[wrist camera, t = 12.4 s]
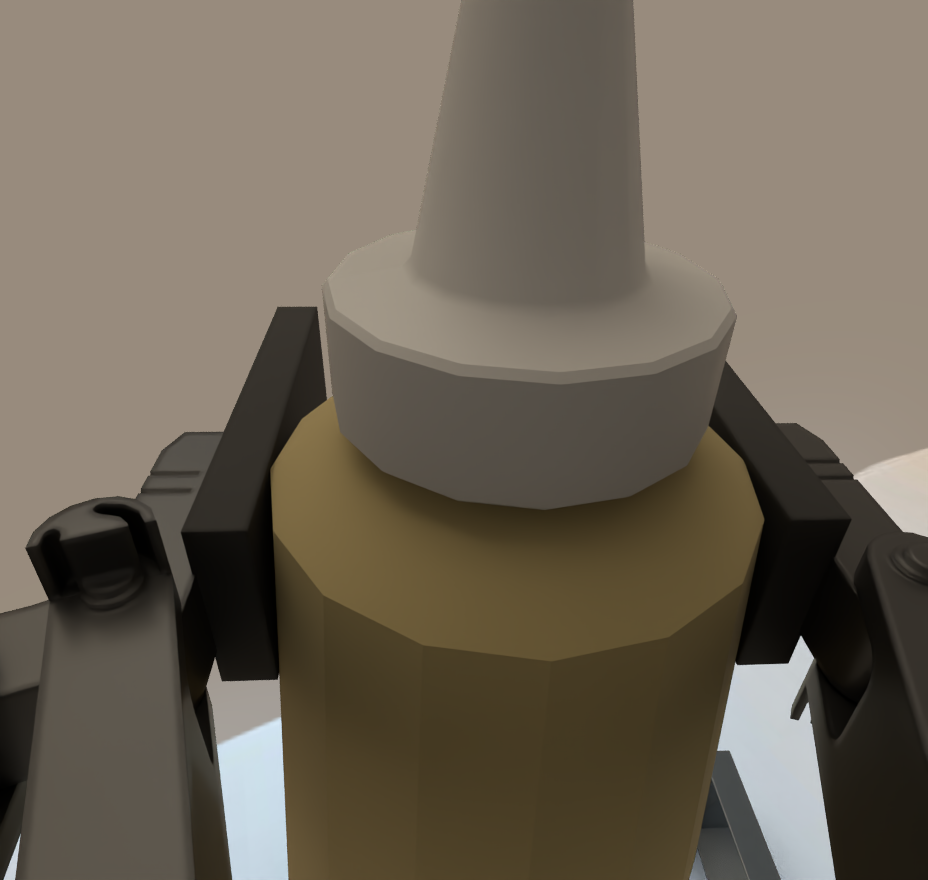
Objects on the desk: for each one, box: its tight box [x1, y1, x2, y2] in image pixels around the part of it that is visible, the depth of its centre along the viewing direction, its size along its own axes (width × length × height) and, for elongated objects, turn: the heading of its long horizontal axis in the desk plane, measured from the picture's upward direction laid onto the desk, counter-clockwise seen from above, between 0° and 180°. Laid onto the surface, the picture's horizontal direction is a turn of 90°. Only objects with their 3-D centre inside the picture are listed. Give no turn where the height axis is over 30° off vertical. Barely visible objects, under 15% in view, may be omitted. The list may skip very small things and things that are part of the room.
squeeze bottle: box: [270, 0, 764, 880], centre depth 11 cm, size 8×8×18 cm
